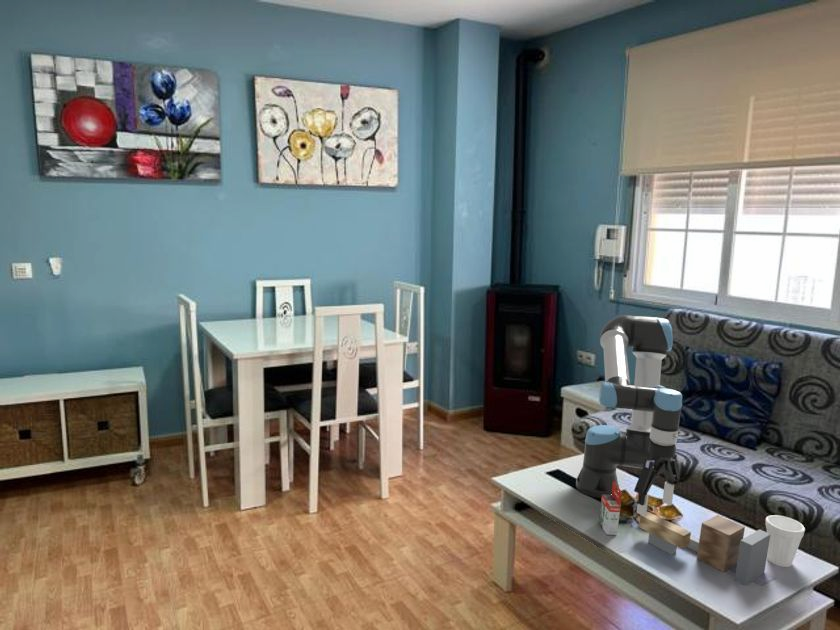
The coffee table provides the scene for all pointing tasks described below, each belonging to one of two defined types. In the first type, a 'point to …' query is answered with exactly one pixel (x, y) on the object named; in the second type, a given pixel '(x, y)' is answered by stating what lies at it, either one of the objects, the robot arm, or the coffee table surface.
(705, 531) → the block
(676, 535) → the bar
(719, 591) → the coffee table surface
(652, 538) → the pedestal
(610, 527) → the ink box
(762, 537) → the base
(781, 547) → the cup
